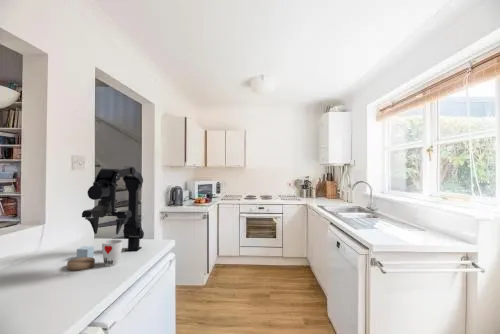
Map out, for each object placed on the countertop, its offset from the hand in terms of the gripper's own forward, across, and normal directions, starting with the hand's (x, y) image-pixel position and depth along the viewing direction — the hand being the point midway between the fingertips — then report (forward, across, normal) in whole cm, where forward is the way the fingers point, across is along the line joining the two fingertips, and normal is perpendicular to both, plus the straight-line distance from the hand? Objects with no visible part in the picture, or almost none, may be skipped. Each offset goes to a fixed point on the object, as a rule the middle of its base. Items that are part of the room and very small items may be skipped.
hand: (106, 234), depth 113 cm
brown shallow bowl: (+15, -11, +1) cm, 18 cm away
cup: (+15, 0, +5) cm, 16 cm away
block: (+15, -16, +12) cm, 25 cm away
